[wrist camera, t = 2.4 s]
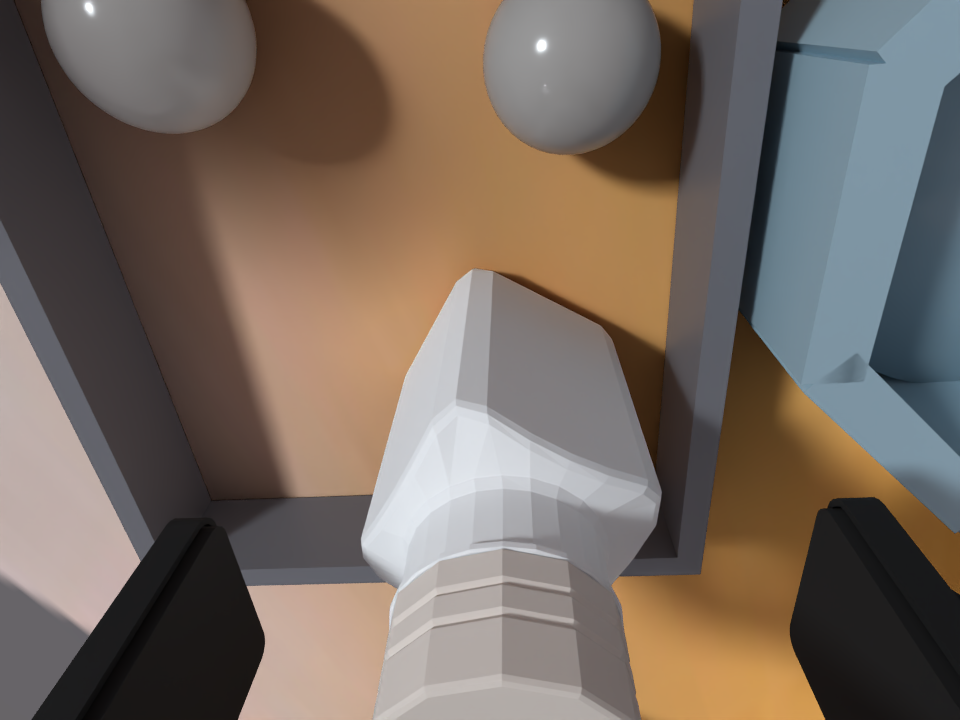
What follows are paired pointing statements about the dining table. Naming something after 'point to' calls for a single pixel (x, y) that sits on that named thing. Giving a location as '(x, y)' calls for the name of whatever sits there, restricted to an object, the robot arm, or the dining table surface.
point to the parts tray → (340, 520)
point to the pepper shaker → (510, 516)
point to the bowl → (866, 229)
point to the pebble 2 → (571, 70)
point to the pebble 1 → (156, 58)
